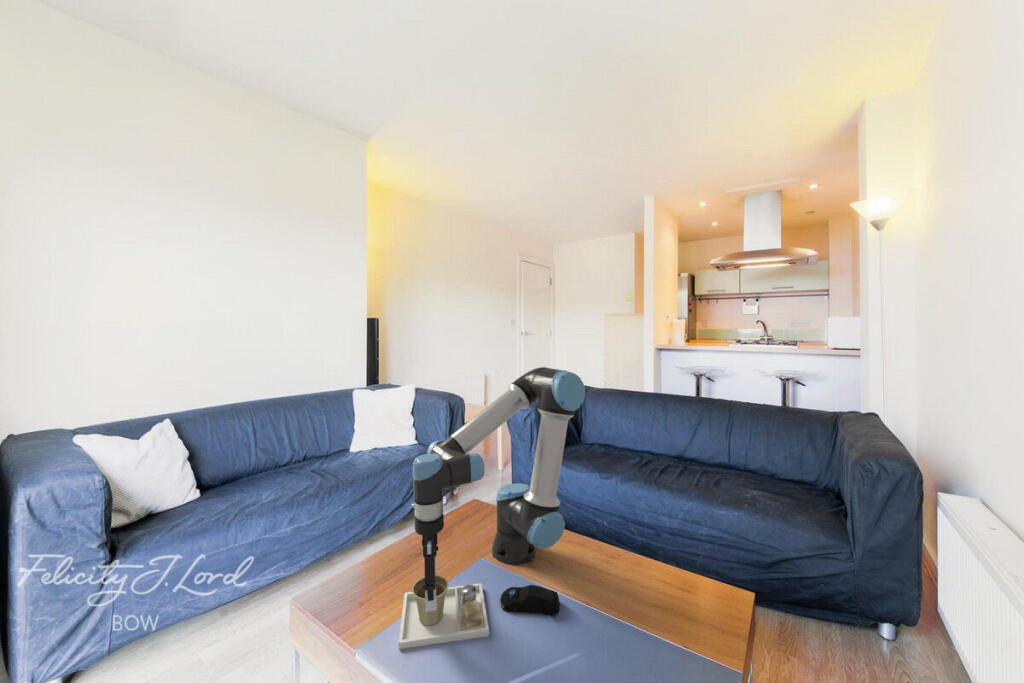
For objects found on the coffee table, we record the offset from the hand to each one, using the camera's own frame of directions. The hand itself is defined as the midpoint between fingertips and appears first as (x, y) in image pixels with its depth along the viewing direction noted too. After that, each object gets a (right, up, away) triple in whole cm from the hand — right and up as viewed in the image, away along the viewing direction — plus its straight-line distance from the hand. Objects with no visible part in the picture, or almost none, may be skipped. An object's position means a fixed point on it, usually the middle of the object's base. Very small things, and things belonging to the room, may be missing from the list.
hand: (431, 591), depth 107 cm
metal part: (+9, -7, +6) cm, 13 cm away
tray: (+3, -8, +1) cm, 8 cm away
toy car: (+26, -8, +5) cm, 28 cm away
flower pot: (0, -7, 0) cm, 7 cm away
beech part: (+11, -7, -1) cm, 13 cm away
